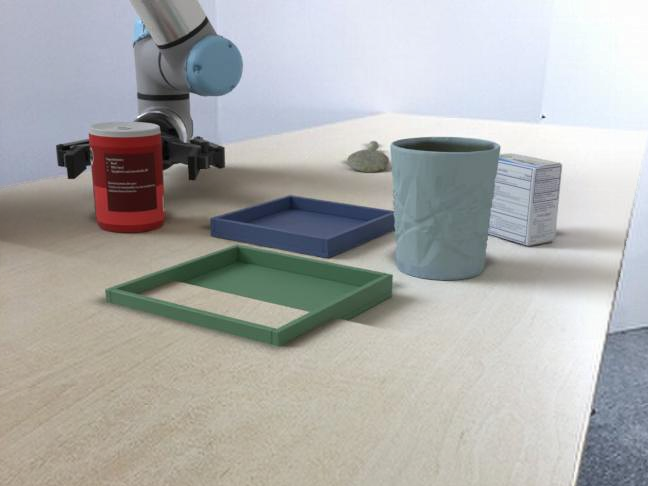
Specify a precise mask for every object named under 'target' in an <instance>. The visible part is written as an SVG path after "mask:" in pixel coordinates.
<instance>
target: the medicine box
mask: <svg viewBox="0 0 648 486" xmlns="http://www.w3.org/2000/svg"><path fill="white" fill-rule="evenodd" d="M562 171H563V164H562V163H561V162H557V161H553V160H548V159H543V158H538V157H533V156H527V155H523V154H518V153H512V152H511V153H500V155H499V161H498V168H497V175H496V178H495V180H494V183H495V190H494V198H493V199H492V208H491V209H490V210H491V216H490V222H489V224H490V226H489V229H488V235H491V236H494V237H497V238H501V239H504V240H507V241H510V242H513V243H516V244H519V245H524V246H527V247H531V246H537V245H543V244H548V243H552V242H553V241H555V240H556V232H557V223H558V214H559V213H558V211H559V202H560V193H561V192H560V191H561V183H562Z"/></svg>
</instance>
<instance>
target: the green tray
mask: <svg viewBox="0 0 648 486" xmlns="http://www.w3.org/2000/svg"><path fill="white" fill-rule="evenodd" d="M393 279H394V274H392V273H386V272H381V271H376V270H372V269H367V268H361V267H356V266H351V265H347V264H341V263H336V262H331V261H326V260H325V261H324V260H320V259H315V258H309V257H304V256H300V255H294V254H290V253H285V252H284V253H283V252H280V251H274V250H269V249H263V248H258V247H253V246H247V245H243V244H239V243H238V244H234V245H231V246H228V247H225V248H222V249H219V250H216V251H213V252H210V253H206V254H204V255H201V256H199V257H195V258H192V259H189V260H186V261H184V262H181V263H177V264H175V265H172V266H169V267H166V268H163V269H160V270H158V271H154V272H151V273H149V274H145V275H143V276H139V277H136V278H134V279H131V280H128V281H125V282H122V283H120V284H117V285H114V286H111V287H108V288H105V290H104V291H105V292H104V293H105V302H106V303H110V304H113V305H117V306H121V307H125V308H129V309H132V310H136V311H141V312H144V313H148V314H151V315H157V316H159V317H164V318H167V319H171V320H175V321H179V322H183V323H187V324H191V325H195V326H199V327H202V328H205V329H210V330H213V331H218V332H221V333H225V334H229V335H233V336H236V337H241V338H245V339H249V340H252V341H256V342H260V343H265V344H267V345H273V346H276V347H281V346H282V345H284V344H286V343H288V342H290V341H291V340H293V339H295V338H297V337H299V336H302V335H304V334H305V333H307V332H309V331H311V330H313V329H315V328H316V327H319V326H320V325H322V324H324V323H325V322H328V321H330V320H331V319H333V318H334V319H339V320H343V321H349V320H351V319H352V318H354V317H356V316H358V315H360V314H362V313H364V312H366V311H368V310H369V309H371V308H373V307H375V306H376V305H378V304H380V303H382V302H384V301H385V300H387V299H389V298H391V297H392V296H393V281H394V280H393ZM171 282H176V283H177V282H178V283H182V284H186V285H190V286H195V287H200V288H204V289H208V290H212V291H217V292H220V293H225V294H229V295H234V296H239V297H243V298H246V299H247V298H248V299H251V300H256V301H261V302H264V303H269V304H273V305H276V306H277V305H278V306H281V307H285V308H286V307H287V308H290V309H294V310H299V311H304V312H307V313H306V314H303V315H301V316H299V317H297V318H295V319H293V320H291V321H289V322H287V323H285V324H283V325H281V326H279V327H277V328H276V327H272V326H268V325H265V324H260V323H255V322H252V321H248V320H244V319H239V318H235V317H233V316H232V317H231V316H227V315H223V314H219V313H215V312H211V311H207V310H204V309H199V308H194V307H190V306H187V305H183V304H178V303H175V302H171V301H167V300H162V299H160V298H159V299H158V298H154V297H151V296H147V295H142V294H140V293H143V292H146V291H149V290H151V289H155V288H156V287H159V286H160V287H161V286H162V285H165V284H168V283H171Z"/></svg>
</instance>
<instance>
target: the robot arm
mask: <svg viewBox="0 0 648 486" xmlns="http://www.w3.org/2000/svg"><path fill="white" fill-rule="evenodd" d="M129 2H130V4H131V5H132V7H133V8H134V10H135V12H136V14H137V15H138V17H136V19H135V20H134V21H133V26H132V27H133V32H132V35H133V37H132V39H133V41H132V48H133V55H134V66H135V68H134V69H135V79H136V80H135V81H136V82H135V84H136V103H137V104H136V105H137V117H136V118H135V119H134V120H133V121H132V122H143V123H152V124H156V125H158V126H160V131H161V142H162V162H163V172H164V171H166V170H169V169H170V168H171V167H173V166H174V165H179V164H181V165H186V166H187V171H188V181H196V180H197V178H198V176H199V173H200V172H201V170H208V169H211V167H214V168H216V169H218V170H221V169H222V170H223V169H225V168H226V148H225V146H223V145H220V144H217V143H214V142H211V141H209V140H206V139H204V137H202V136H199V135H197V136H194V120H193V118H192V114H191V98H190V95H191V94H194V95H197V96H200V97H221V96H225V95H228V94H229V93H232V92H233V90H234V89H236V88H237V86H238V85H239V84H240V82H241V79H242V77H243V71H244V61H243V56H242V54H241V51H240V50H239V48H238V46H237V45H236V44H235V43H234V42H233V41H231V40H230V39H228V38H226V37H224V36H223V35H220V34H218V33H217V32H216V30H215V28H214V26H213V25H212V23H211V21H210V19H209V17H208V15H207V14H206V12H205V11H204V9H203V7H202V5H201V3H200V1H199V0H129ZM55 151H56V152H55V153H56V162H57V166H58V167H61V168H65V169H66V173H67V174H66V175H67V180H75V179H77V178H78V177H79V176H80V175H81V174H83V173H84V172H85V171H86V170H87V168H88V167H89V166H90V167H91V157H90V146H89V138H87V139H81V140H76V141H75V140H74V141H72V142H64V143H59V144H56V145H55Z"/></svg>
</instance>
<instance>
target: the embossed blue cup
mask: <svg viewBox="0 0 648 486" xmlns="http://www.w3.org/2000/svg"><path fill="white" fill-rule="evenodd" d="M389 148H390V164H391V165H390V166H391V176H392V179H391V180H392V187H393V189H392V197H393V201H392V205H393V207H394V208H393V211H395V212H394V219H395V224H394V226H395V230H394V237H395V242H396V243H395V262H396V267H397V269H398V270H399V271H400V272H402V273H404V274H406V275H408V276H412V277H416V278H420V279H424V280H433V281H434V280H435V281H437V280H438V281H459V280H465V279H471V278H474V277H478V276H480V275H482V273H483V271H484V269H485V264H486V262H485V261H486V256H487V248H488V247H487V246H488V243H487V242H488V240H489V234H488V229H489V226H490V224H489V222H490V216H491V210H490V209H491V208H492V199H493V198H494V190H495V183H494V180H495V178H496V175H497V168H498V161H499V155H500V154H501V145H500V144H499V143H497V142H496V141H491V140H488V139H482V138H473V137H464V136H463V137H461V136H421V137H419V136H418V137H410V138H409V137H407V138H402V139H397V140H394V141H391V144H390V145H389Z"/></svg>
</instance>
